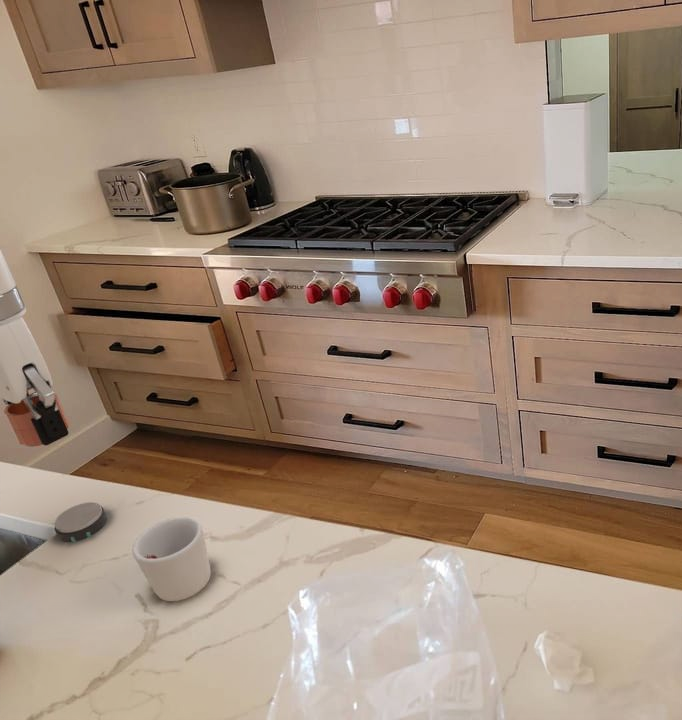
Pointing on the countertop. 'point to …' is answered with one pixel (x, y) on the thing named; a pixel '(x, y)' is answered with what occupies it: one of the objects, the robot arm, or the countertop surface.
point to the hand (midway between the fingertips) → (43, 432)
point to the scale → (80, 522)
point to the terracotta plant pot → (27, 422)
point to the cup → (174, 558)
